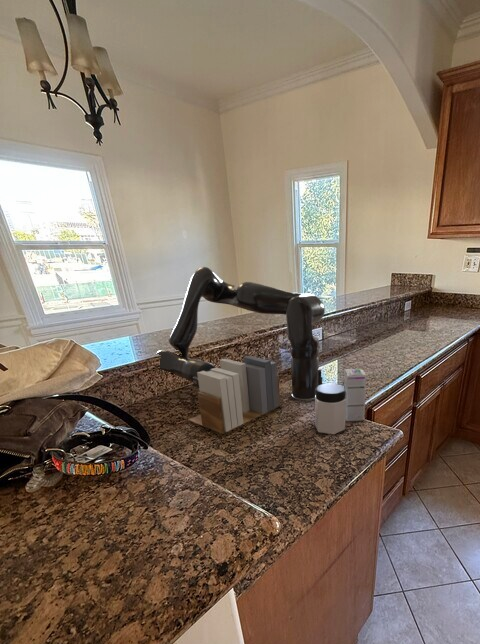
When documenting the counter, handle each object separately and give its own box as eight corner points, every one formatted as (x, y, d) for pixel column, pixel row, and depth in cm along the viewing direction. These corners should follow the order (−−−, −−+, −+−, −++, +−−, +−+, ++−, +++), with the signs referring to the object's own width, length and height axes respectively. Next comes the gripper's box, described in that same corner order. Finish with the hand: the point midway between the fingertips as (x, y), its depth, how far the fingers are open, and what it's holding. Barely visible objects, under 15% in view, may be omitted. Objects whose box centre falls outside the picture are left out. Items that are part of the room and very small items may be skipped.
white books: (222, 415, 105) (216, 366, 99) (243, 423, 101) (238, 372, 94) (204, 423, 100) (196, 372, 94) (226, 432, 96) (219, 379, 89)
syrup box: (364, 420, 105) (367, 374, 99) (345, 421, 104) (346, 374, 98) (361, 412, 110) (363, 368, 104) (342, 413, 109) (344, 368, 103)
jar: (347, 433, 98) (349, 393, 92) (319, 436, 96) (319, 395, 91) (339, 419, 105) (341, 381, 100) (313, 421, 104) (312, 383, 99)
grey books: (258, 399, 116) (254, 353, 110) (278, 406, 112) (276, 358, 105) (241, 407, 111) (236, 359, 104) (262, 414, 106) (258, 364, 99)
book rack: (248, 396, 121) (245, 366, 116) (281, 407, 113) (280, 375, 108) (188, 421, 103) (182, 387, 98) (222, 436, 95) (218, 399, 91)
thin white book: (229, 403, 113) (224, 358, 107) (249, 410, 109) (245, 363, 102) (225, 405, 112) (219, 359, 105) (245, 412, 107) (240, 365, 101)
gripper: (177, 366, 108) (212, 376, 100) (215, 356, 119) (249, 364, 110) (182, 389, 111) (215, 400, 103) (217, 377, 122) (251, 386, 114)
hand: (233, 382), depth 107 cm, fingers open, 8 cm apart
